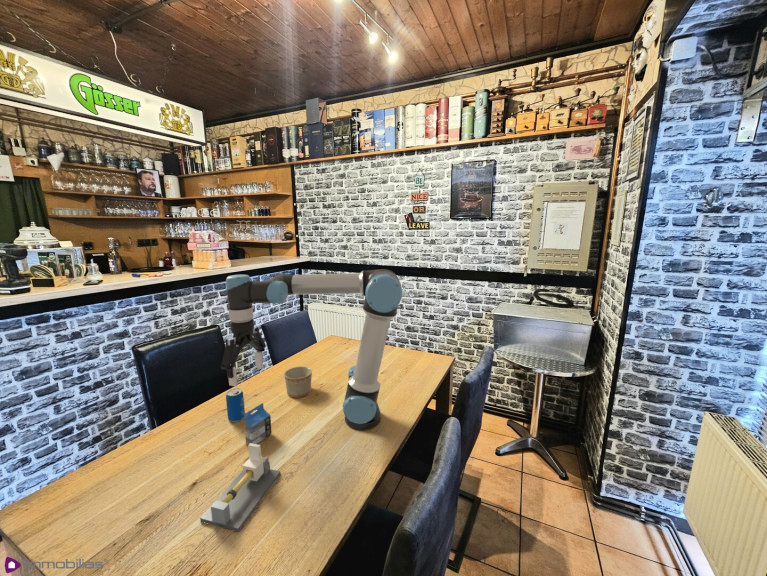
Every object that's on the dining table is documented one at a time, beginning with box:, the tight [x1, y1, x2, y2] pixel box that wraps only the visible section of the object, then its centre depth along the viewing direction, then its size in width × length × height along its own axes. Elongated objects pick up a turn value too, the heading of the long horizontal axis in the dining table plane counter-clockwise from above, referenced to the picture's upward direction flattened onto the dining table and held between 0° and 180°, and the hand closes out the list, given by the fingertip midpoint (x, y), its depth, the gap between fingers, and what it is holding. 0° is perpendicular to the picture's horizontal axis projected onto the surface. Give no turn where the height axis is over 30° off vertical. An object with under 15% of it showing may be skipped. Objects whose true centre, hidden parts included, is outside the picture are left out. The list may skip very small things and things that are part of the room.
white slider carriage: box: [242, 443, 264, 481], centre depth 97 cm, size 5×4×10 cm
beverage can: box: [225, 387, 246, 423], centre depth 129 cm, size 6×6×12 cm
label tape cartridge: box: [243, 403, 273, 446], centre depth 116 cm, size 9×4×12 cm, turn 151°
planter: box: [283, 366, 313, 399], centre depth 149 cm, size 13×13×10 cm
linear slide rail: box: [199, 456, 281, 533], centre depth 93 cm, size 12×20×6 cm, turn 166°
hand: (247, 376), depth 112 cm, fingers open, 13 cm apart
